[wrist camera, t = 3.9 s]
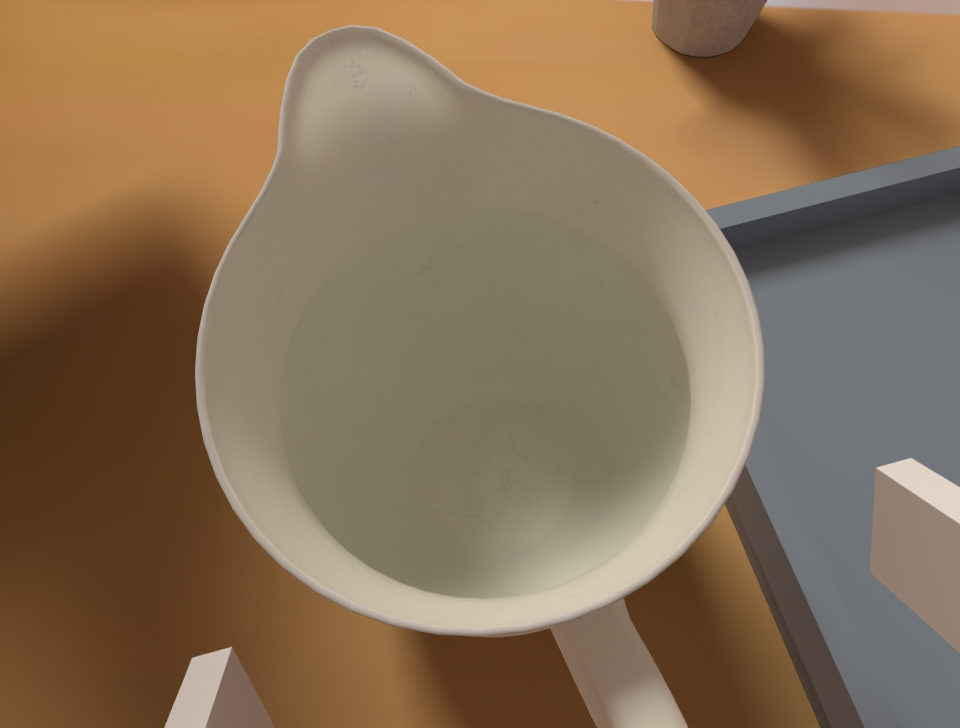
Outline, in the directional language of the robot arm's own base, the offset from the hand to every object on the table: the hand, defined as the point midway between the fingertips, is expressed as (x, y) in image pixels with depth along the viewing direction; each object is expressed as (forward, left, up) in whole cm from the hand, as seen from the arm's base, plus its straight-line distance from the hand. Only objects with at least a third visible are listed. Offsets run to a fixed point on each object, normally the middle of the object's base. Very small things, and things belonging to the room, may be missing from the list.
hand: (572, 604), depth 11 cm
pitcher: (-4, 0, -10) cm, 11 cm away
